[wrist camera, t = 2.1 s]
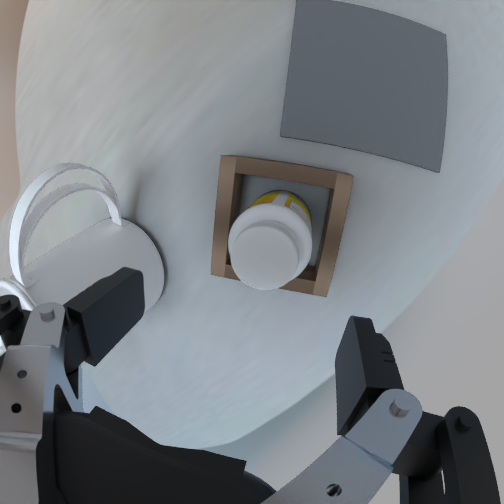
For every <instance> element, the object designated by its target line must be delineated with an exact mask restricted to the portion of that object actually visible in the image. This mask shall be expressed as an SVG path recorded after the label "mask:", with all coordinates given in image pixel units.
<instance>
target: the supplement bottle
mask: <svg viewBox="0 0 504 504" xmlns="http://www.w3.org/2000/svg"><path fill="white" fill-rule="evenodd" d="M228 248H229V253H230V259H231V264H232V267H233V270H234V272H235V274H236V275H237V276H238V278H239V279H240V280H241V281H242V282H244V283H245V284H246V285H248V286H250V287H252V288H255V289H258V290H274V289H277V288H280V287H282V286H284V285H285V284H287V283H288V282H289V281H291V280H293V279H294V278H296V277H297V276H298V275H299V274H300V273H301V272H302V271H303V270H304V269H305V267H306V266H307V264H308V262H309V260H310V257H311V252H312V227H311V215H310V212H309V209H308V207H307V205H306V204H305V202H304V201H303V200H302V199H301V198H300V197H298V196H297V195H295V194H293V193H291V192H288V191H284V190H275V191H271V192H268V193H266V194H264V195H262V196H261V197H259V198H258V199H257V200H256V201H255V202H254V203H253V204H252V205H251V206H250V207H248V208H247V209H246V210H245V211H244V212H243V213H242V214H241V215H240V216H239V217H238V218H237V219H236V221H235V222H234V224H233V225H232V228H231V230H230V233H229V238H228Z"/></svg>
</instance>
